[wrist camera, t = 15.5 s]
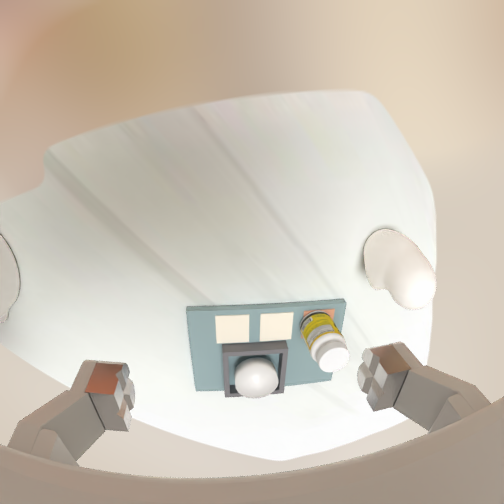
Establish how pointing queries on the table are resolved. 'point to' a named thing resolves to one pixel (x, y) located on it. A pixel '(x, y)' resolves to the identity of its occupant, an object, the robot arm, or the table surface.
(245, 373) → the dome
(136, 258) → the table surface
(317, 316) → the supplement bottle
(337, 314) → the board
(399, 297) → the figurine
